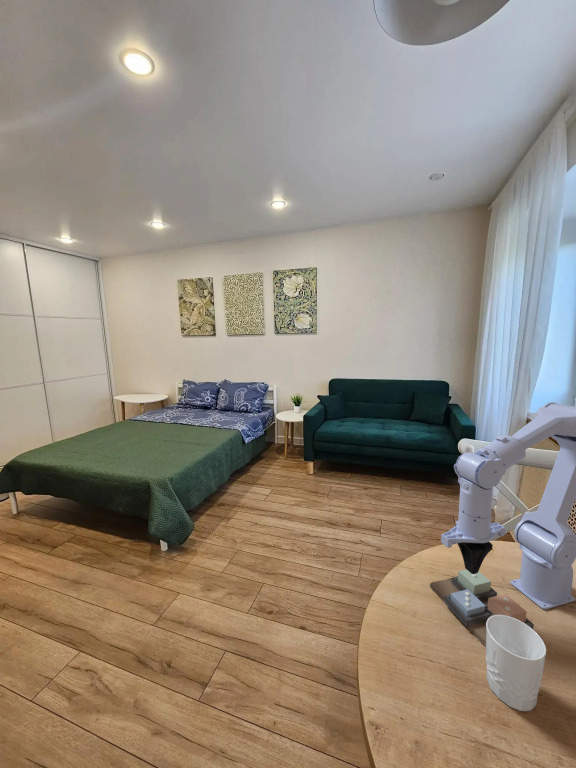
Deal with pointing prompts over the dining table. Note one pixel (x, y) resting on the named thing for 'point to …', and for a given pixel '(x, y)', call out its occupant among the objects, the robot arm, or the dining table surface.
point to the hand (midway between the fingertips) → (471, 570)
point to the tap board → (473, 622)
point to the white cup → (514, 661)
